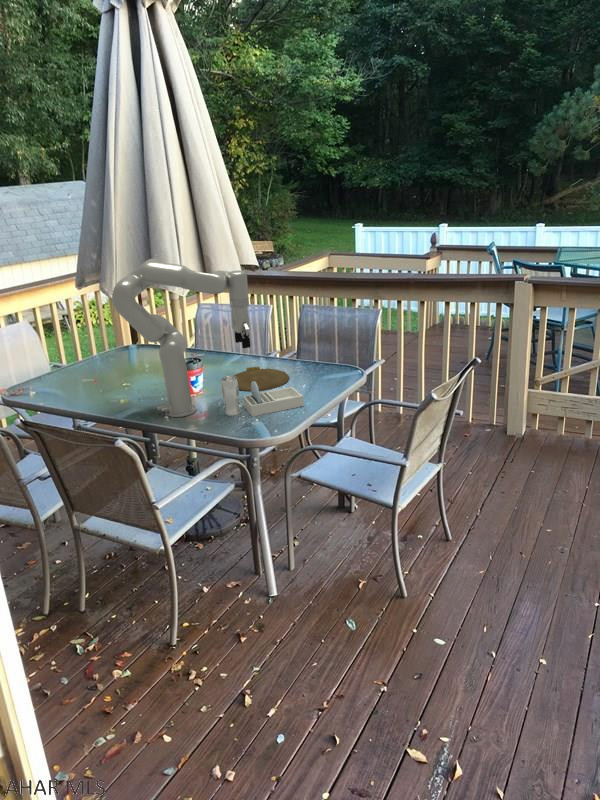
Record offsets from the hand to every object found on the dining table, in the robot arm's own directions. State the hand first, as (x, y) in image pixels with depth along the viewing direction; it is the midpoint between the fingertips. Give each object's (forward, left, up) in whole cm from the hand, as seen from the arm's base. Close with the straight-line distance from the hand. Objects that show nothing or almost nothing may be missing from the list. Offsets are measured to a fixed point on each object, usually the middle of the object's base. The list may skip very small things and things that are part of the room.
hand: (242, 344), depth 251 cm
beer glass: (-8, -4, -27) cm, 28 cm away
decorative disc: (+13, +31, -27) cm, 43 cm away
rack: (+9, -5, -27) cm, 29 cm away
